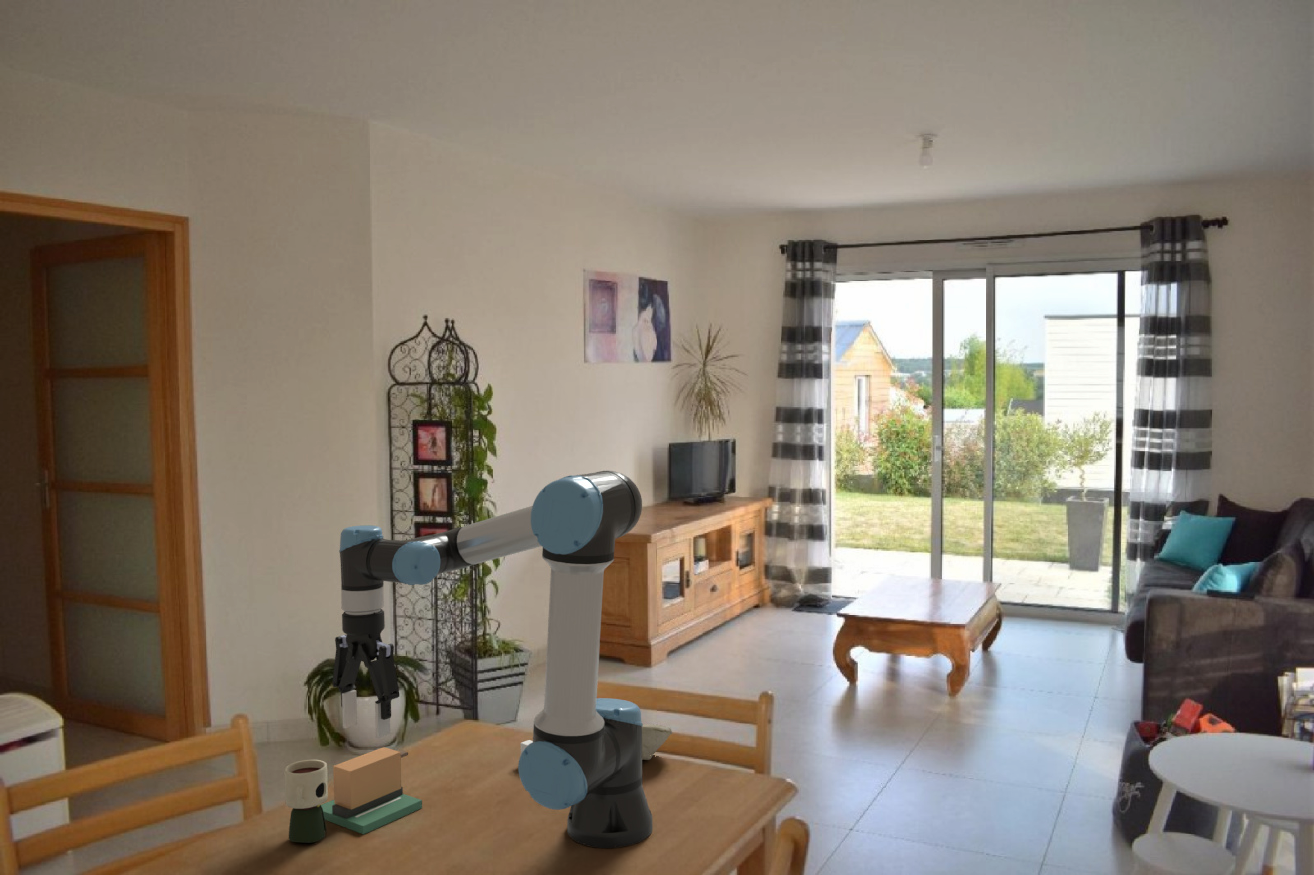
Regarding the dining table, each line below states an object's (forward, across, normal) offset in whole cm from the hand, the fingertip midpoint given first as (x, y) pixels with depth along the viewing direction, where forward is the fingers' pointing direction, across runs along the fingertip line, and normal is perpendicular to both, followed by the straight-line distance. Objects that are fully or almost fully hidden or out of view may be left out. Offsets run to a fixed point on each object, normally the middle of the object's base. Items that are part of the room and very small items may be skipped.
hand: (366, 730), depth 192 cm
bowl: (+16, -26, -49) cm, 58 cm away
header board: (+15, 0, 0) cm, 15 cm away
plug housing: (+12, 0, -2) cm, 12 cm away
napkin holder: (+16, -14, -32) cm, 39 cm away
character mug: (+16, 0, +14) cm, 21 cm away
